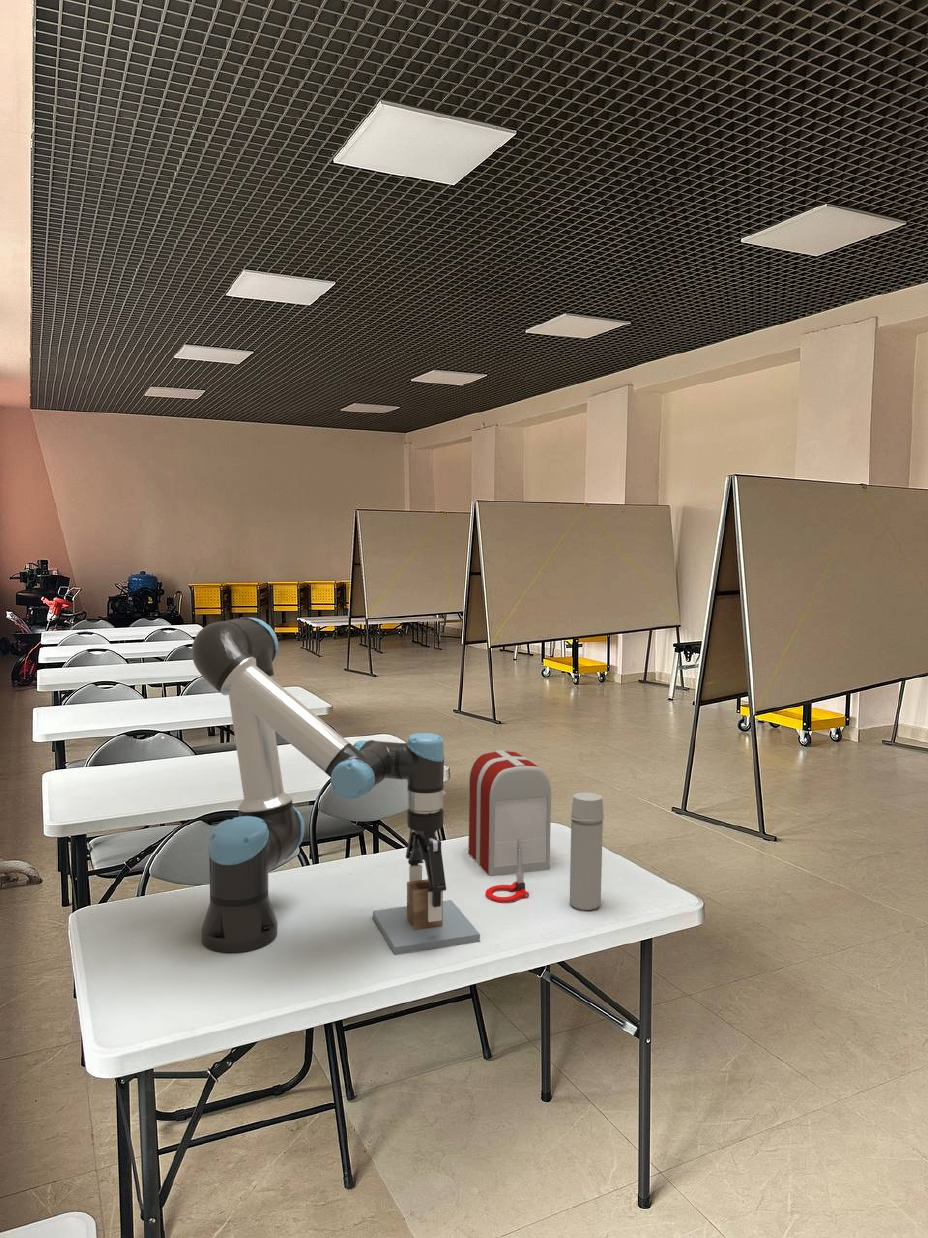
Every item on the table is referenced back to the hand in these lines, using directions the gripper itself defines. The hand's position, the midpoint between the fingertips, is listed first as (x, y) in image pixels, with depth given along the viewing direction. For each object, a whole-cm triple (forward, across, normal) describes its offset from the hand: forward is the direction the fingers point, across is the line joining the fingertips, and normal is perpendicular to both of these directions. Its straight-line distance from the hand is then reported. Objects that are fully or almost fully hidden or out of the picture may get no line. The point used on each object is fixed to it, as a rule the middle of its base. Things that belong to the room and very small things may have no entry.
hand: (424, 907), depth 184 cm
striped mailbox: (+5, +31, -32) cm, 45 cm away
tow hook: (+5, +11, -23) cm, 26 cm away
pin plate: (+5, 0, 0) cm, 5 cm away
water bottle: (+5, +1, -38) cm, 38 cm away
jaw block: (+3, 0, 0) cm, 3 cm away
